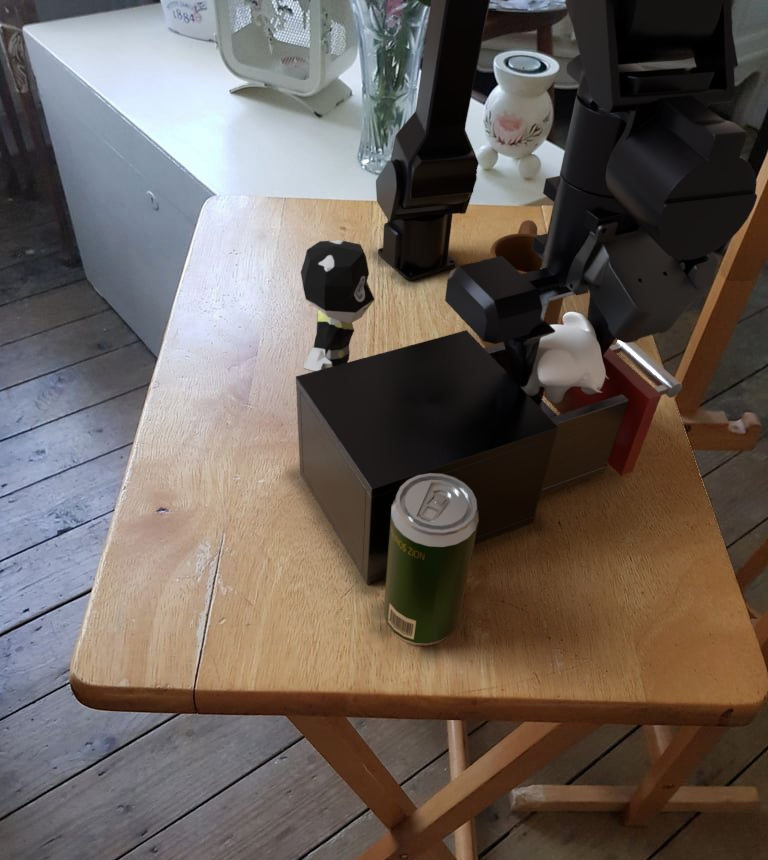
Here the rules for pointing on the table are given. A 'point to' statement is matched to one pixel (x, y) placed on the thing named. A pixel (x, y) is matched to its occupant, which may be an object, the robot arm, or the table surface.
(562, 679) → the table surface
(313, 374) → the cabinet
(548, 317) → the mug
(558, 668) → the table surface
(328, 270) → the toy
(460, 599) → the beer can
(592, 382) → the elephant figurine
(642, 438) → the drawer
